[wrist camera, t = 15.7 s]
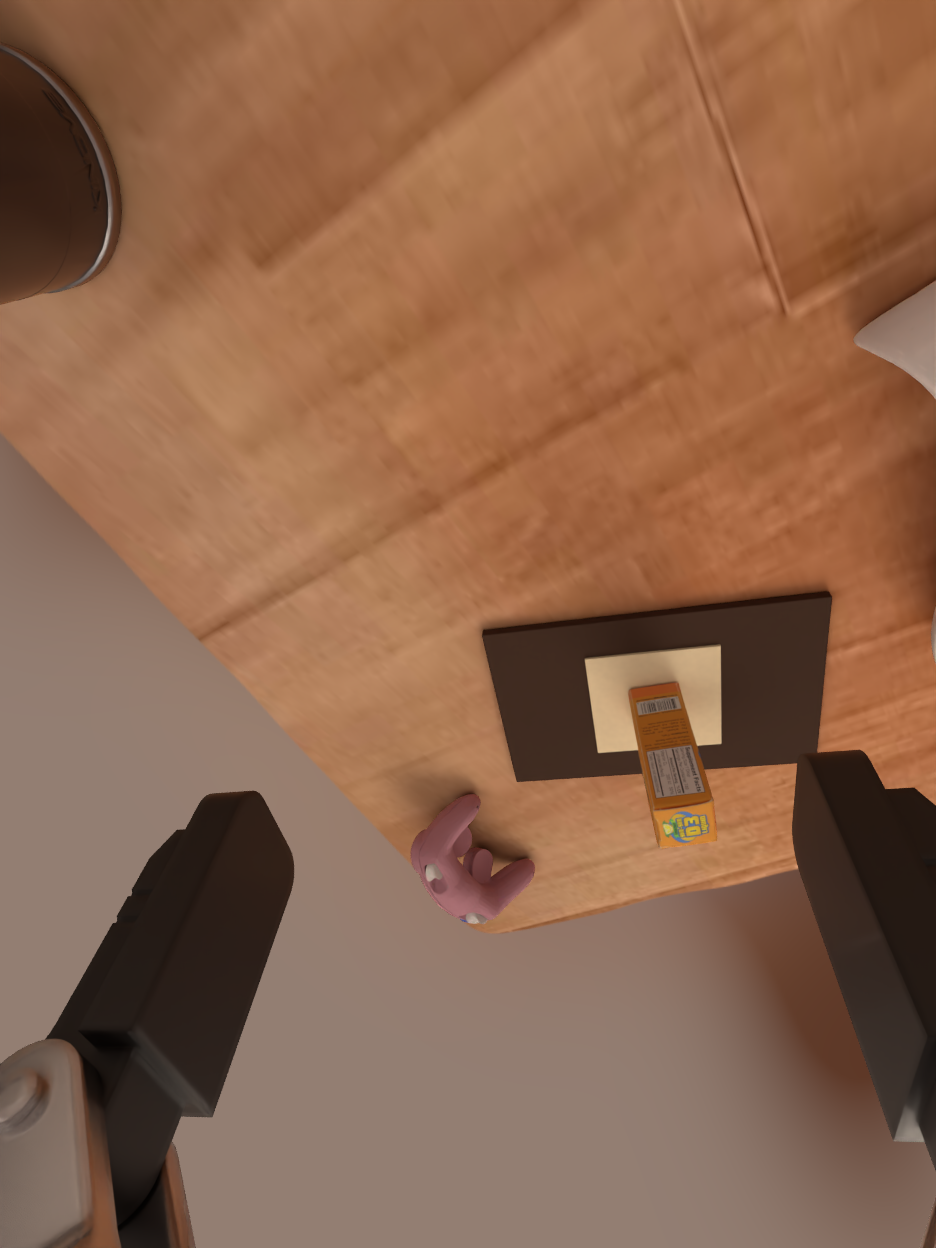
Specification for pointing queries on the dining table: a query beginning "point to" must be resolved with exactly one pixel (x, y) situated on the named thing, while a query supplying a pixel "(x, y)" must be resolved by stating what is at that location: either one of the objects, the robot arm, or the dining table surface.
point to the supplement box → (672, 767)
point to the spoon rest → (908, 348)
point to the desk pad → (655, 654)
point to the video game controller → (465, 866)
